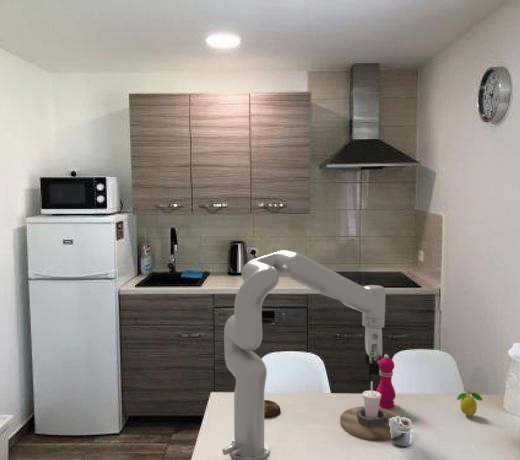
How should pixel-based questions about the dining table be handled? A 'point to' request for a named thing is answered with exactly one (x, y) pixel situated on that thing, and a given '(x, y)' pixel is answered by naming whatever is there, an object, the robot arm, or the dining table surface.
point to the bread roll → (271, 408)
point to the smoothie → (371, 403)
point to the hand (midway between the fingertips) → (371, 369)
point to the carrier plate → (367, 424)
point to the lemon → (469, 403)
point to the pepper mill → (386, 383)
